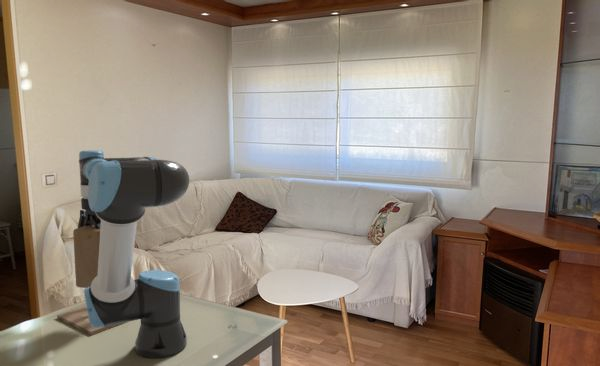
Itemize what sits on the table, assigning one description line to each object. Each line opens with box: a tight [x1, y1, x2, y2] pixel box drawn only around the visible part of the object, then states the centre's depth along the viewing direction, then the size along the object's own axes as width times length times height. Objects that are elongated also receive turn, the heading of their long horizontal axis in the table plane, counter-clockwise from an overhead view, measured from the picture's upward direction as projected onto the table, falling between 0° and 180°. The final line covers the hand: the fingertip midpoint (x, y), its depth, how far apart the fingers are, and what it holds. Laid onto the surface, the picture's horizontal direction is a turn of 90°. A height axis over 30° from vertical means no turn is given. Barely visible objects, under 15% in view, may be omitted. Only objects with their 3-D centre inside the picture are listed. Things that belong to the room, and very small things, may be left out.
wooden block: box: [72, 225, 100, 289], centre depth 155 cm, size 10×10×20 cm
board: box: [56, 305, 127, 336], centre depth 160 cm, size 22×14×1 cm, turn 54°
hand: (96, 260), depth 155 cm, fingers closed on wooden block, 12 cm apart
